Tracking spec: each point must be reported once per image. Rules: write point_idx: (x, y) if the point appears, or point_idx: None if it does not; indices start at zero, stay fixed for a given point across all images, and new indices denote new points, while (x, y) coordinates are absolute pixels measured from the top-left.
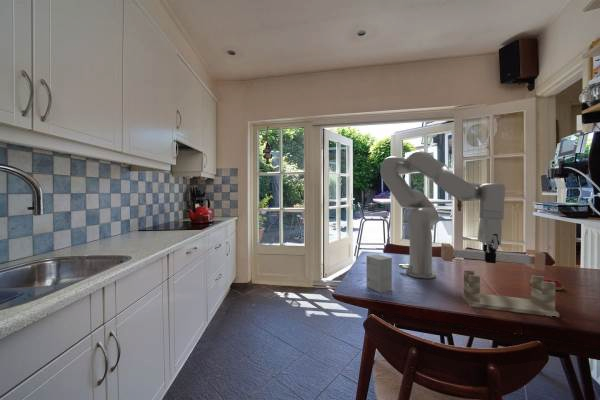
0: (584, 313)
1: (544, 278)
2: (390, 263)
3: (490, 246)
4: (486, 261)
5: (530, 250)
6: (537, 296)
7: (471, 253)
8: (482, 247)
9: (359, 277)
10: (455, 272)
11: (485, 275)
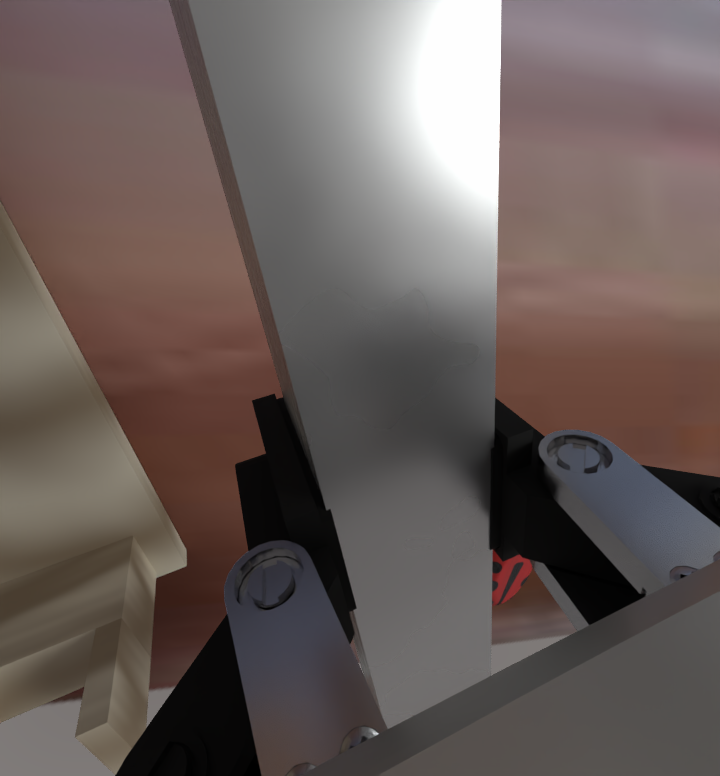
0: (170, 667)
1: (516, 570)
2: None
3: (576, 612)
4: (255, 412)
5: None
6: (33, 619)
7: (222, 150)
8: (610, 450)
9: None
10: (639, 80)
11: (600, 303)
